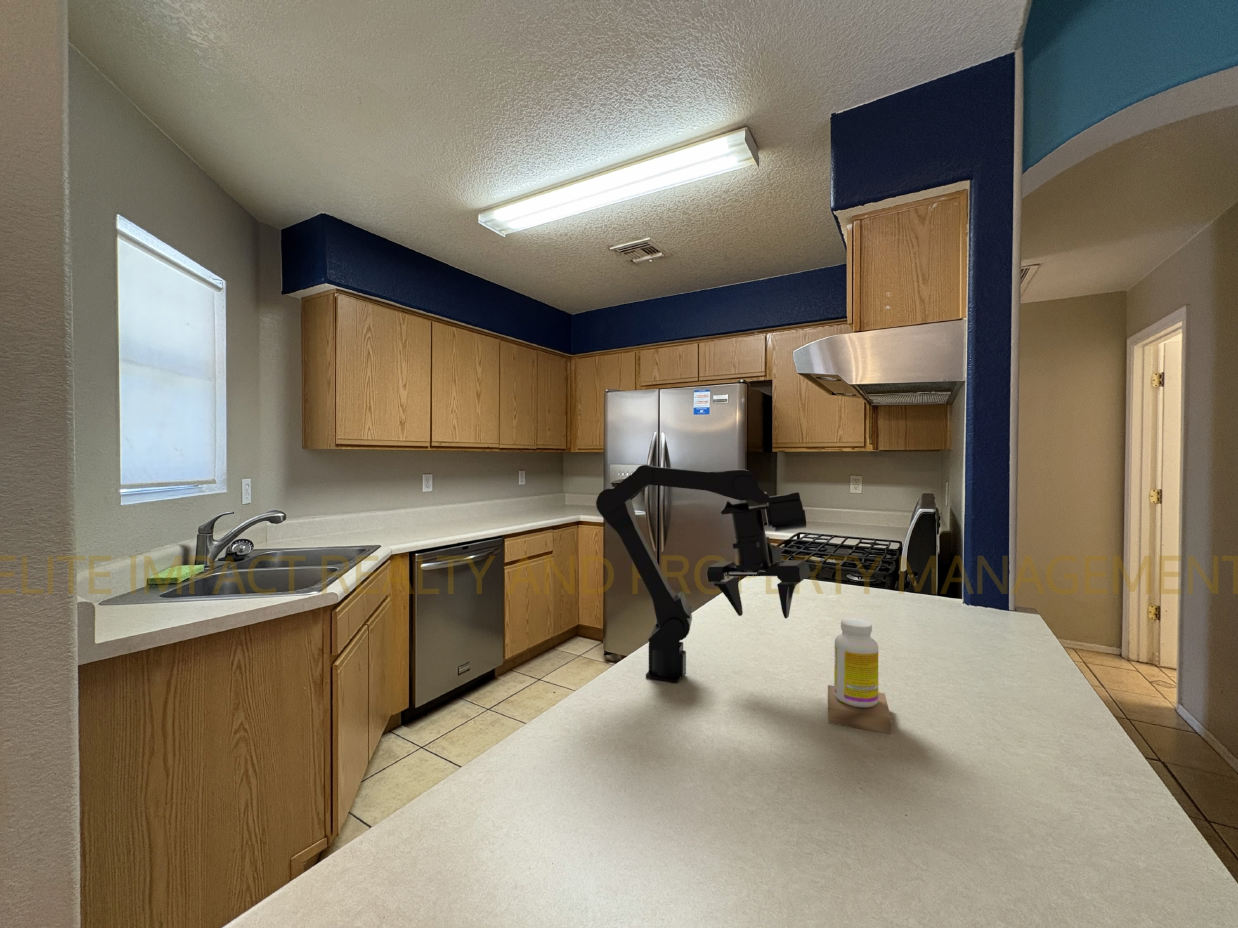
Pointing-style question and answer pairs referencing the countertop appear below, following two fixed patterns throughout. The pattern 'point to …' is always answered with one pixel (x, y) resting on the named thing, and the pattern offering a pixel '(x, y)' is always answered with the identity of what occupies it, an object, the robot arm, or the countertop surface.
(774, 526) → the robot arm
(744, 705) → the countertop surface
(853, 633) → the supplement bottle
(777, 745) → the countertop surface
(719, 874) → the countertop surface
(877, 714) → the walnut block
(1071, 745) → the countertop surface
